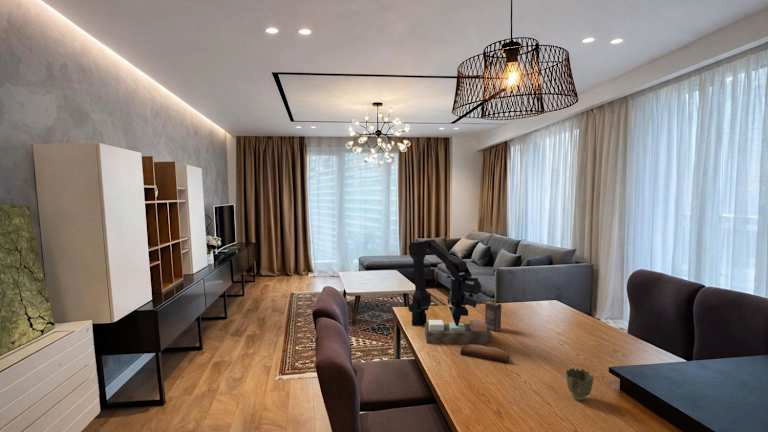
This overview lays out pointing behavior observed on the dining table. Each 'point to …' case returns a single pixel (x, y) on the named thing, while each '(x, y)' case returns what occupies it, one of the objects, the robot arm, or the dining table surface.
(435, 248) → the robot arm
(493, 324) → the box
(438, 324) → the key cream
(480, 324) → the key terracotta
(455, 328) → the key sage
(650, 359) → the dining table surface
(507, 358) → the sunglasses case
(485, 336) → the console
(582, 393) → the cup
